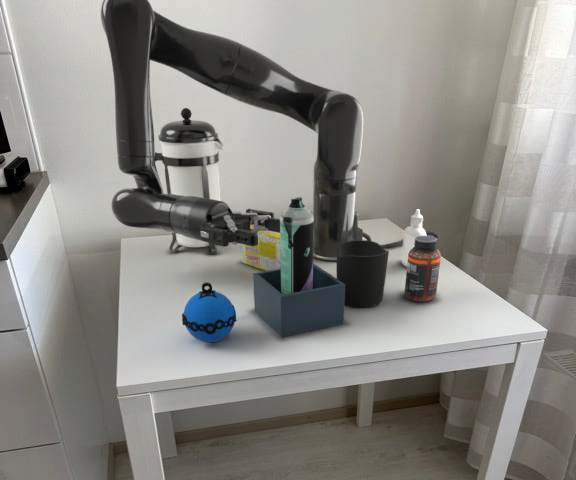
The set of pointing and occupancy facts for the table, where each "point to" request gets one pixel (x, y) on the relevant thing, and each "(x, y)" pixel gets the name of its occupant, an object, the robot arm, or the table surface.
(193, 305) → the ornament
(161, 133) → the coffee press
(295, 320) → the bin
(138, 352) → the table surface
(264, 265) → the candy box
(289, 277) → the spray can
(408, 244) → the eye dropper bottle
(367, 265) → the pen holder
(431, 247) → the supplement bottle
